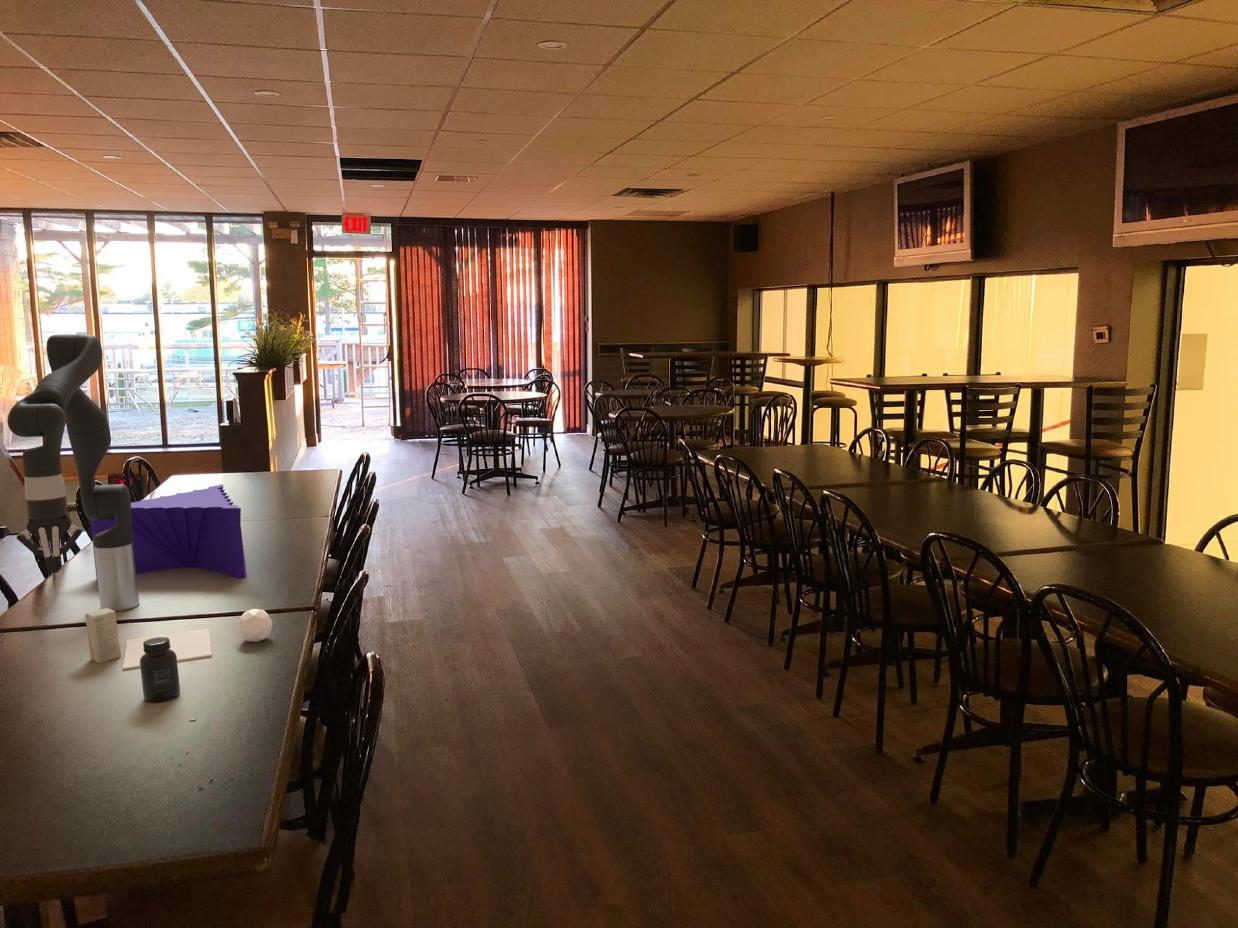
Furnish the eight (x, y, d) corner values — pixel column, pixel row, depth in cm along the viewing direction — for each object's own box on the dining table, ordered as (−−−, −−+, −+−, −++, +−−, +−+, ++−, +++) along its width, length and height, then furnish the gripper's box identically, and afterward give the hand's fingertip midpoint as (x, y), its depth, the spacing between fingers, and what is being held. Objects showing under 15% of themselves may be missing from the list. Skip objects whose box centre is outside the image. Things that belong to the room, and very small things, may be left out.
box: (113, 653, 217) (108, 607, 215) (121, 657, 214) (116, 610, 213) (89, 659, 213) (84, 612, 211) (97, 663, 210) (92, 616, 209)
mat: (127, 641, 224) (127, 639, 224) (209, 630, 232) (208, 628, 232) (123, 670, 206) (122, 667, 206) (211, 656, 214) (211, 654, 214)
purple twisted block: (244, 579, 277) (238, 508, 274) (94, 580, 278) (86, 510, 275) (293, 546, 316) (288, 483, 313) (161, 547, 317) (155, 485, 314)
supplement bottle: (186, 689, 195) (181, 634, 193) (171, 702, 189) (166, 646, 187) (152, 690, 195) (147, 635, 193) (137, 703, 188) (131, 646, 186)
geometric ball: (261, 647, 227) (278, 617, 230) (261, 646, 220) (278, 615, 222) (232, 634, 225) (248, 604, 228) (230, 633, 218) (247, 601, 221)
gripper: (82, 489, 210) (90, 564, 213) (13, 495, 205) (22, 572, 208) (79, 495, 204) (87, 572, 206) (7, 501, 198) (17, 580, 201)
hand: (54, 572), depth 207 cm, fingers closed
